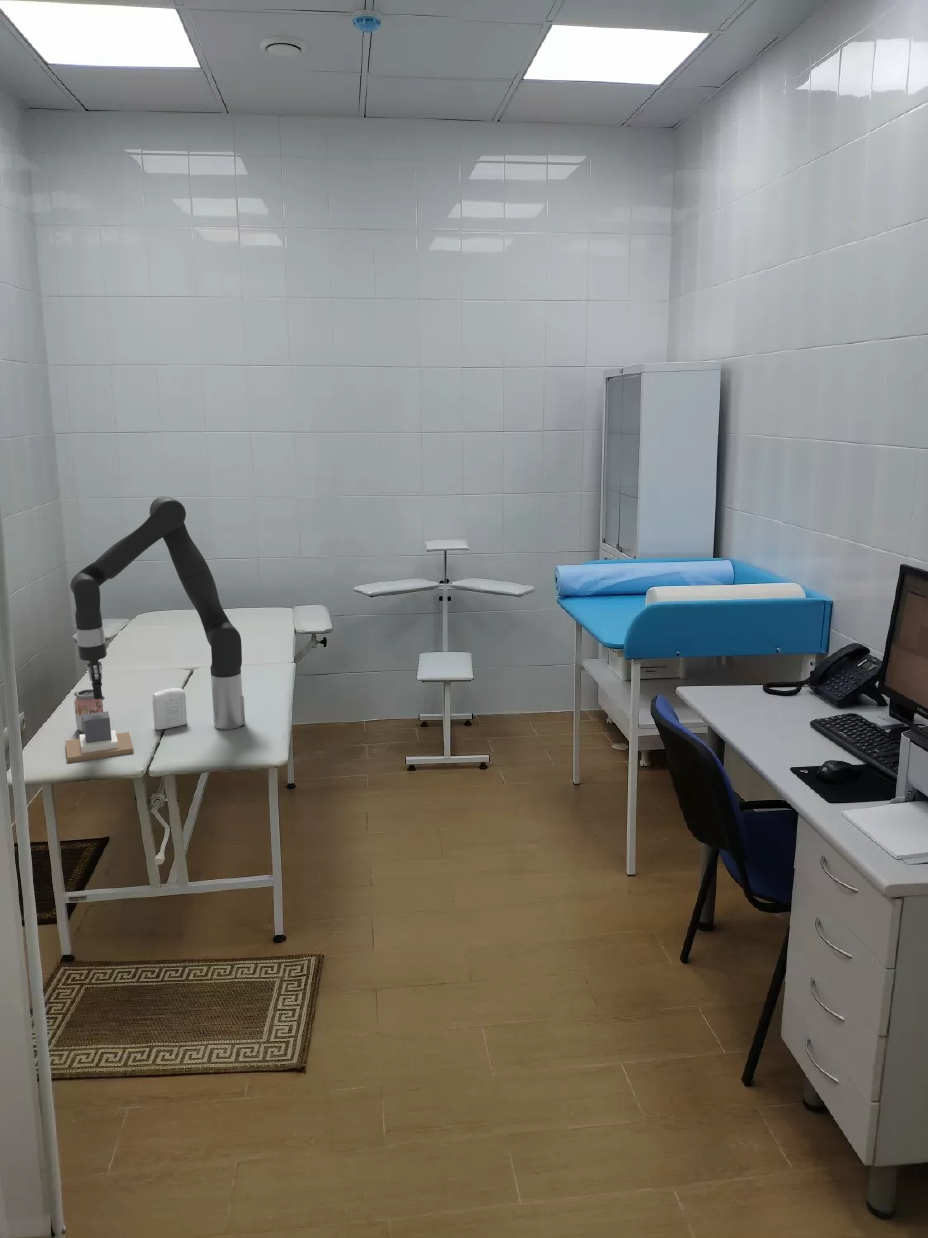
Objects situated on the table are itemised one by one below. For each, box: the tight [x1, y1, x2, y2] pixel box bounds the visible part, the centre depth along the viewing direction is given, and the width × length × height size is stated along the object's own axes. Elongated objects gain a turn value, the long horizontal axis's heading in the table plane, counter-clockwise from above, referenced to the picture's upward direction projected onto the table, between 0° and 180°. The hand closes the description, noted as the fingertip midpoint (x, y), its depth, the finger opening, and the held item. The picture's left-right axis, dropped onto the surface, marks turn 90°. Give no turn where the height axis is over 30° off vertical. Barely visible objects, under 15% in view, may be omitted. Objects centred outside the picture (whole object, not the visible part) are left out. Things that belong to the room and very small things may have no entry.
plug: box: [83, 711, 112, 743], centre depth 279 cm, size 7×6×8 cm
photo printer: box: [152, 687, 188, 731], centre depth 297 cm, size 10×4×12 cm, turn 125°
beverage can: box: [73, 688, 105, 734], centre depth 295 cm, size 9×8×12 cm
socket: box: [65, 729, 134, 764], centre depth 280 cm, size 18×14×4 cm
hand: (98, 698), depth 279 cm, fingers closed
